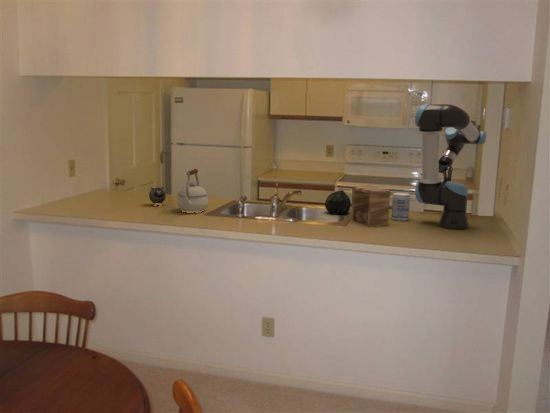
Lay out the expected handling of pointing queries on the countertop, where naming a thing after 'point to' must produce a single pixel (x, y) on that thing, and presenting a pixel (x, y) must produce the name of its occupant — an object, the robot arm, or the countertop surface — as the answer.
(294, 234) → the countertop surface
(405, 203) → the supplement tub
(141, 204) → the countertop surface
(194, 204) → the kettle
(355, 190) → the wooden cube
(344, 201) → the squash
